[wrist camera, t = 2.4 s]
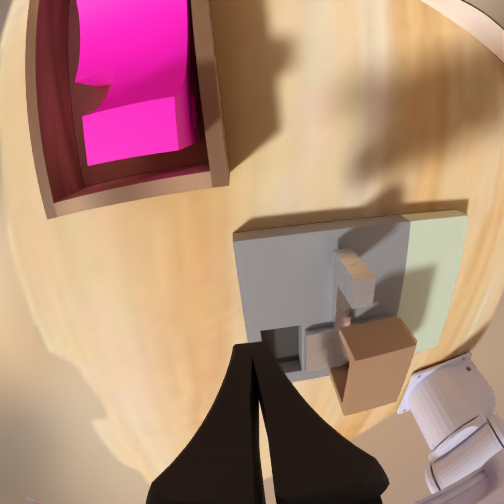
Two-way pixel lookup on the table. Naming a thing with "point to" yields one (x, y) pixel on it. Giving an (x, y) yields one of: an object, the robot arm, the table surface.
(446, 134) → the table surface
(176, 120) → the toy block
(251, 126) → the table surface
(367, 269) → the sled
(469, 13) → the gable box
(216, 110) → the wooden caddy
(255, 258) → the track
